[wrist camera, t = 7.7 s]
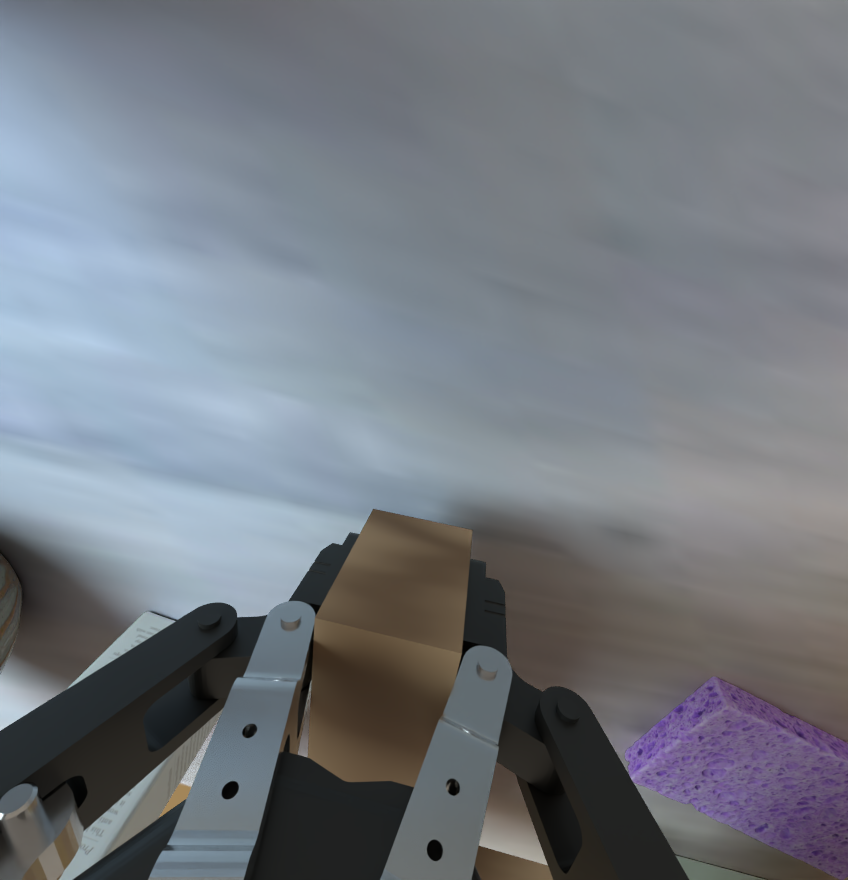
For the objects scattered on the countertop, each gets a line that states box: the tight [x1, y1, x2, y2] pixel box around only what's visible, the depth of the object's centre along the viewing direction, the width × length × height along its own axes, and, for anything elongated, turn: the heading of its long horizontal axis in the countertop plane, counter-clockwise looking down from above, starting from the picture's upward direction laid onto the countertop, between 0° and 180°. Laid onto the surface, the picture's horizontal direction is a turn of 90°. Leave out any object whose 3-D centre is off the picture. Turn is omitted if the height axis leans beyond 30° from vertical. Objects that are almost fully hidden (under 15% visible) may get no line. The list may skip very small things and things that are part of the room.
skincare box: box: [59, 611, 223, 880], centre depth 18 cm, size 6×4×12 cm
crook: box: [308, 509, 553, 880], centre depth 15 cm, size 14×20×5 cm
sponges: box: [625, 676, 848, 880], centre depth 20 cm, size 7×13×2 cm, turn 65°
